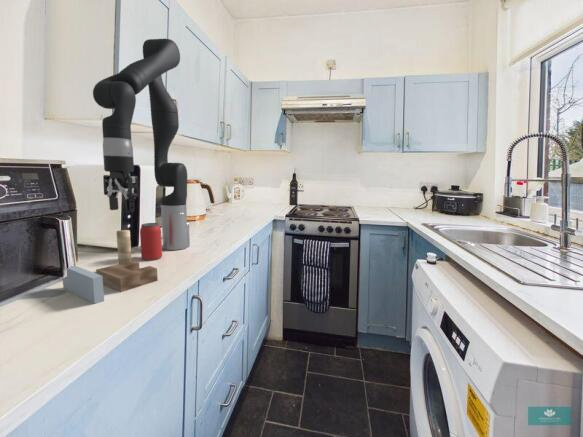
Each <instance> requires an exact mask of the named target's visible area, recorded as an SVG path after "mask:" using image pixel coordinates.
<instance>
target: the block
mask: <svg viewBox="0 0 583 437" xmlns="http://www.w3.org/2000/svg"><path fill="white" fill-rule="evenodd" d="M95 273H96V274H98V275H101V276H102V278H103V286H106V287H108V288H111V289H112V290H115V291H118V292H120V293H122V292H125V291H129V290H131V289H136V288H139V287H142V286H144V285H147V284H151V283H154V282H157V281H158V268H157V267H154V266H151V265H148V266H145V267H140V262H138V261H135V260H132V261H130V262H125V263H121V264H119V263H117V264H113V265H110V266H106V267H100V268H97V269H95Z"/></svg>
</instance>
